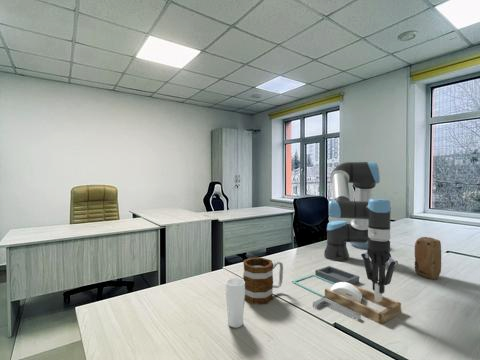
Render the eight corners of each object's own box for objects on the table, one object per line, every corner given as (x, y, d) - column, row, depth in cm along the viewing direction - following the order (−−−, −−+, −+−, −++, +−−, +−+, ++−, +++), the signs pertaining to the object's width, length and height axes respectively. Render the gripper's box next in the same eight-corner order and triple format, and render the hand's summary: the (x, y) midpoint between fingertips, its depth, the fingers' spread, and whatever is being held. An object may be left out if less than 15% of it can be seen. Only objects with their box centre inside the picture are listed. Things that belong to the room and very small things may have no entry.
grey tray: (315, 275, 132) (315, 270, 132) (329, 271, 138) (329, 265, 138) (345, 288, 117) (345, 281, 117) (359, 282, 124) (359, 276, 124)
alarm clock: (385, 250, 178) (385, 233, 178) (356, 250, 178) (357, 233, 178) (371, 243, 197) (371, 227, 197) (345, 243, 197) (346, 227, 197)
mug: (251, 307, 100) (251, 270, 99) (237, 293, 112) (237, 259, 112) (291, 297, 108) (291, 262, 108) (274, 285, 120) (274, 254, 120)
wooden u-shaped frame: (324, 297, 108) (324, 289, 108) (344, 288, 116) (344, 281, 116) (381, 324, 88) (382, 314, 88) (401, 312, 96) (401, 303, 96)
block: (442, 279, 128) (443, 240, 128) (432, 281, 125) (433, 241, 125) (421, 271, 138) (421, 235, 138) (411, 273, 136) (412, 236, 135)
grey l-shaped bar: (312, 306, 100) (312, 302, 100) (322, 301, 105) (322, 297, 104) (350, 325, 88) (350, 320, 88) (360, 319, 92) (360, 314, 92)
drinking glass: (225, 319, 92) (225, 278, 91) (244, 318, 92) (244, 277, 92) (226, 330, 85) (226, 286, 85) (246, 329, 85) (246, 285, 85)
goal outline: (291, 282, 124) (291, 281, 124) (313, 275, 133) (313, 274, 133) (323, 297, 108) (323, 296, 108) (345, 288, 117) (345, 287, 117)
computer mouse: (361, 304, 102) (361, 289, 102) (328, 297, 109) (328, 282, 109) (362, 298, 108) (362, 283, 108) (331, 291, 115) (331, 277, 114)
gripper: (357, 236, 99) (356, 296, 100) (392, 244, 89) (391, 310, 89) (367, 234, 104) (367, 291, 104) (402, 241, 93) (401, 304, 93)
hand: (378, 300), depth 96 cm, fingers closed
